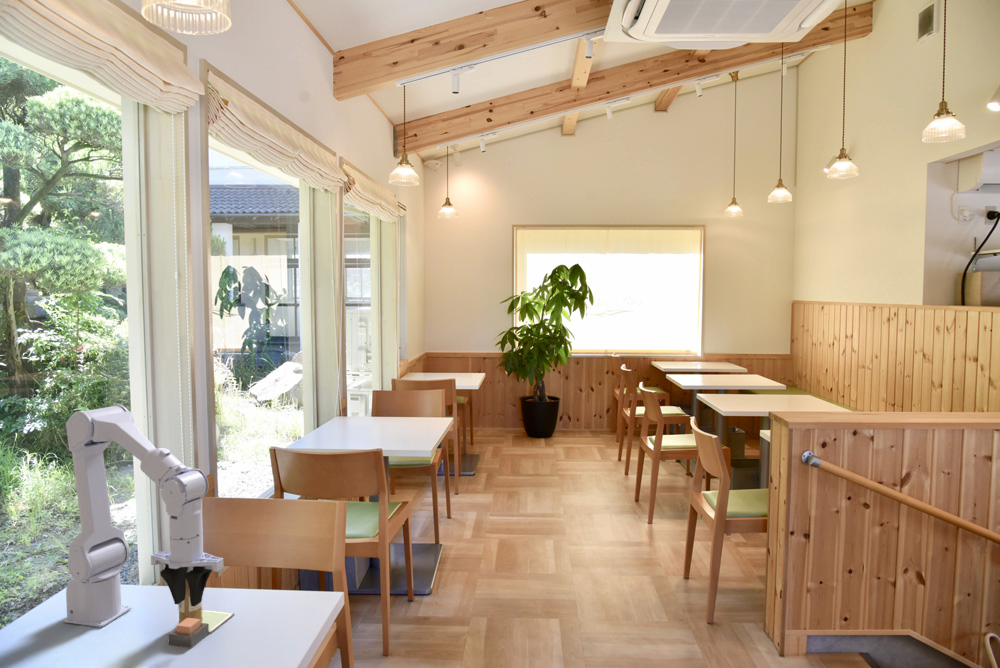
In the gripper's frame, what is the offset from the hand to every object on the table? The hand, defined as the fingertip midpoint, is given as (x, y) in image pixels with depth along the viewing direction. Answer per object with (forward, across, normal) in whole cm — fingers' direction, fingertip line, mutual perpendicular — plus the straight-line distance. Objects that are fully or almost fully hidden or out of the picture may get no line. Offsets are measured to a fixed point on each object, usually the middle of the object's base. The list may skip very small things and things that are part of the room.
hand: (188, 602), depth 122 cm
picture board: (+7, -1, +6) cm, 10 cm away
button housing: (+7, 0, 0) cm, 7 cm away
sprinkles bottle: (+7, -3, +5) cm, 9 cm away
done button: (+6, 0, 0) cm, 6 cm away
